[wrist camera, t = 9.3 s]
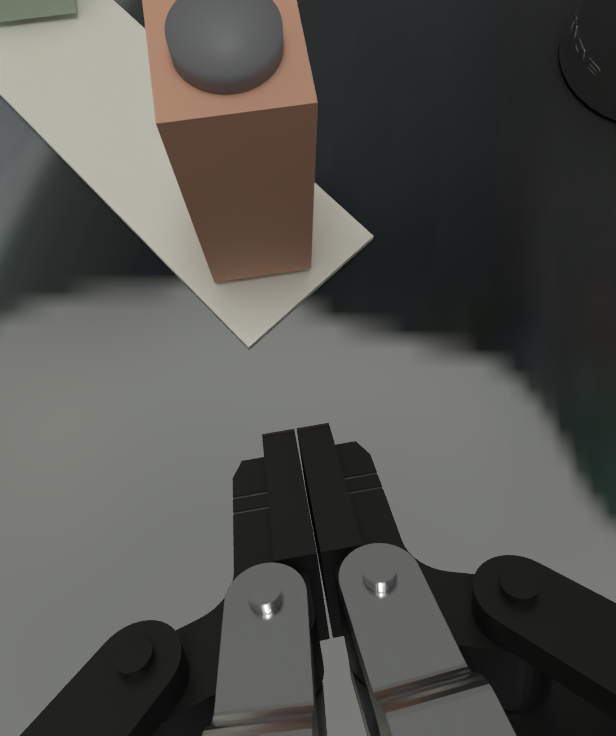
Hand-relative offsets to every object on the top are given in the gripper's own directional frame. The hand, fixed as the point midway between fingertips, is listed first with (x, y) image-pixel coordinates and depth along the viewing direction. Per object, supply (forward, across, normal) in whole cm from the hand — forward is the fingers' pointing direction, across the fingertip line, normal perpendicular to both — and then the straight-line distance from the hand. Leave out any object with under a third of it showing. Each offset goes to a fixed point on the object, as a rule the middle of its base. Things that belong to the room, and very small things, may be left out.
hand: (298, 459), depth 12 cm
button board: (+25, +6, -5) cm, 26 cm away
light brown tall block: (+19, 0, 0) cm, 19 cm away
